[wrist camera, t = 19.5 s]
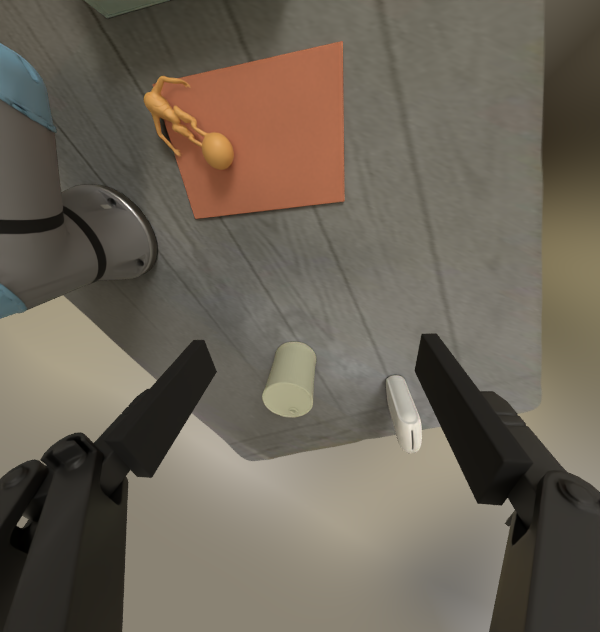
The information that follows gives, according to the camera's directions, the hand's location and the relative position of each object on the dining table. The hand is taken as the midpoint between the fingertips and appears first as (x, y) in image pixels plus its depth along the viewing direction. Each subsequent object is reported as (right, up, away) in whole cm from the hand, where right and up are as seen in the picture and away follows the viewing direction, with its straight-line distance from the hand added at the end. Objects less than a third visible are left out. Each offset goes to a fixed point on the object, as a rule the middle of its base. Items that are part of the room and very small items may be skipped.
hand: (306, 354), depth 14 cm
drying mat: (-7, +26, +17) cm, 32 cm away
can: (-1, -7, +35) cm, 36 cm away
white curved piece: (+21, -15, +37) cm, 45 cm away
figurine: (-10, +22, +15) cm, 29 cm away
